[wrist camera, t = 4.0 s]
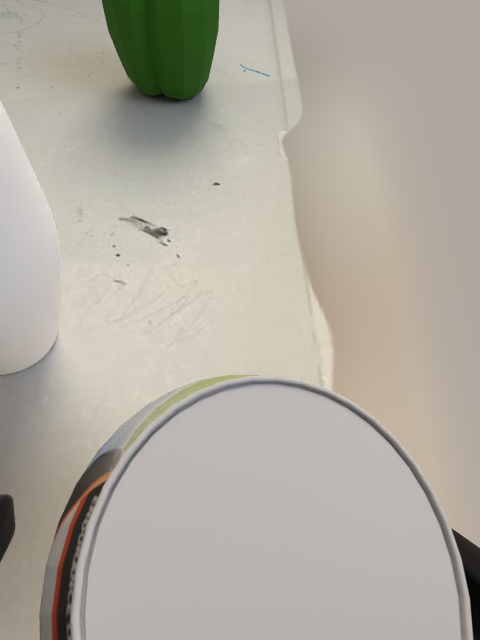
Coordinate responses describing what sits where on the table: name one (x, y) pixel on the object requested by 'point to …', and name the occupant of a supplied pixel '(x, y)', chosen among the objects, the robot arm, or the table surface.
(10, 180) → the mug
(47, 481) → the table surface
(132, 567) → the beverage can
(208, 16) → the bell pepper
